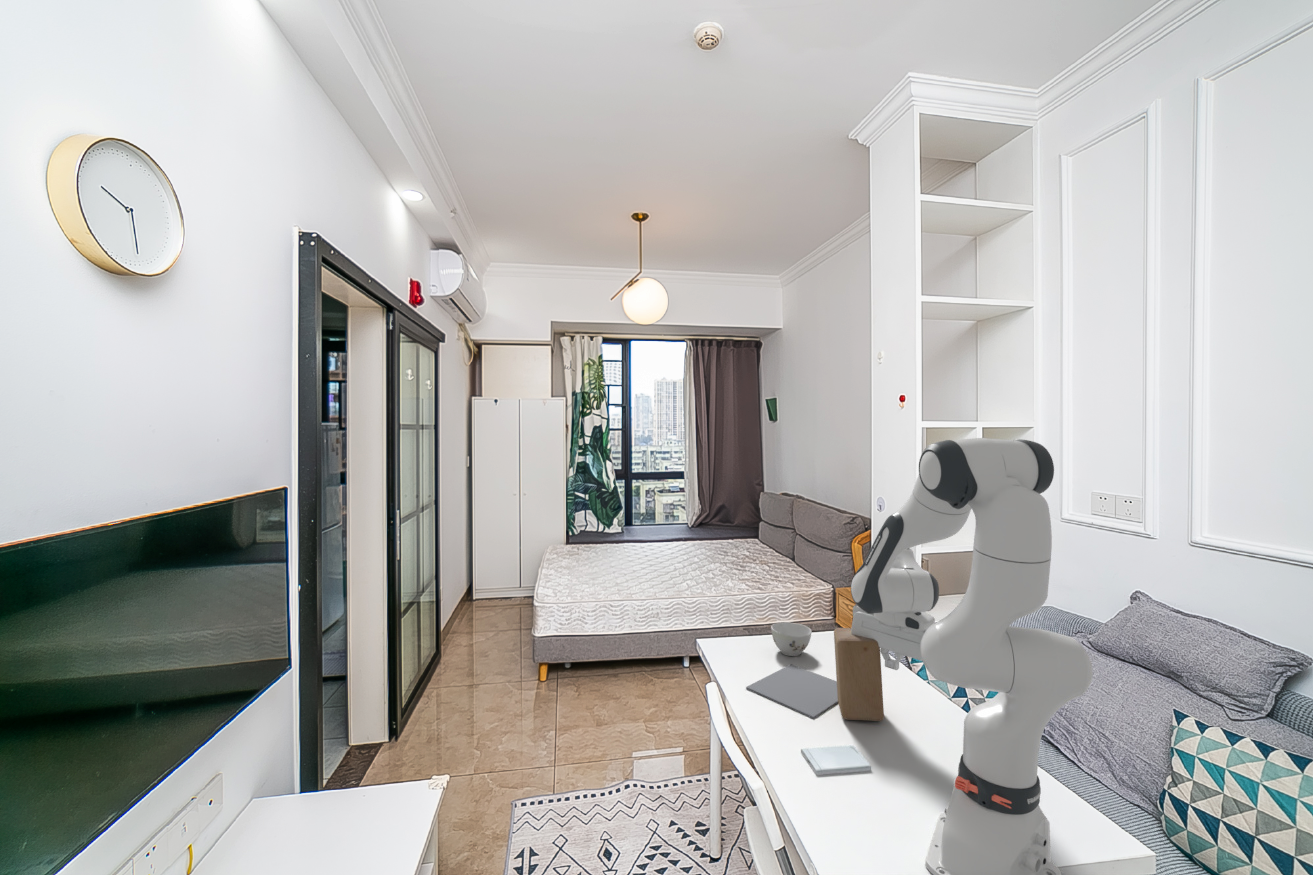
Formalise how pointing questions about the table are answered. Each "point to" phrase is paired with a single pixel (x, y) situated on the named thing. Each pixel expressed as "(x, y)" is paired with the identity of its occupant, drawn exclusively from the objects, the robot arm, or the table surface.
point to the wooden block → (858, 676)
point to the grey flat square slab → (798, 690)
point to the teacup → (791, 637)
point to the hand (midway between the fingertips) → (891, 667)
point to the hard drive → (835, 759)
